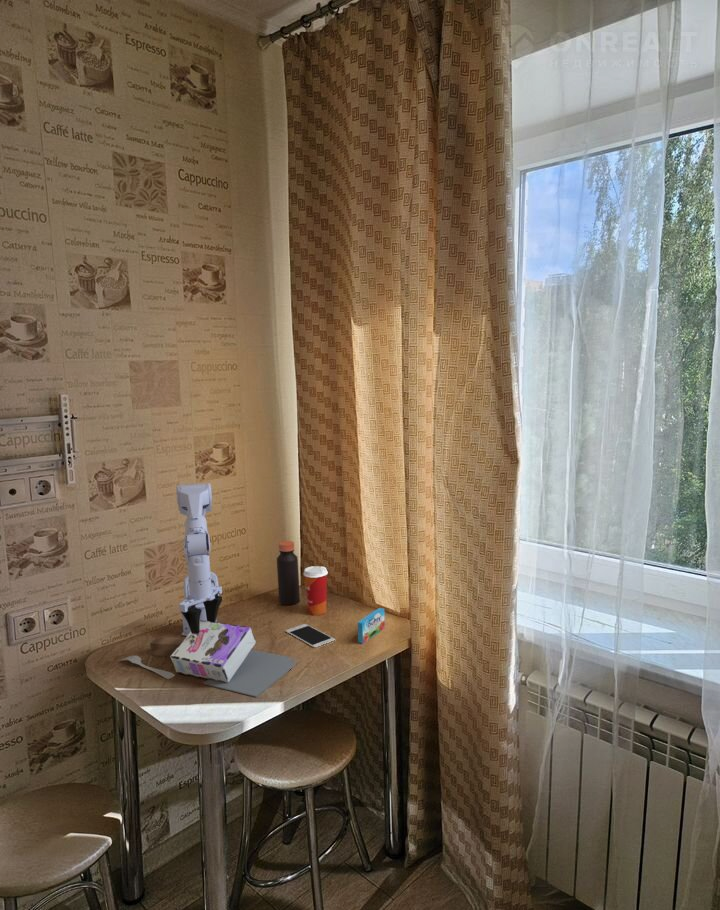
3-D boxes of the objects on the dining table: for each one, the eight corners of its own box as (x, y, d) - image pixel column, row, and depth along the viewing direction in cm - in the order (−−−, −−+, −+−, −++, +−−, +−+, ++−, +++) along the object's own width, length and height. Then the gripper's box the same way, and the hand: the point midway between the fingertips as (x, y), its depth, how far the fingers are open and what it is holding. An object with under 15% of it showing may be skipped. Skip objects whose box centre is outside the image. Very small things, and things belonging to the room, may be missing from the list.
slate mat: (203, 684, 157) (203, 683, 157) (252, 650, 175) (252, 649, 175) (256, 697, 150) (256, 696, 150) (301, 660, 168) (301, 659, 168)
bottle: (285, 597, 214) (282, 539, 211) (303, 599, 211) (300, 540, 208) (275, 604, 208) (271, 545, 205) (293, 607, 205) (290, 546, 202)
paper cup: (308, 607, 204) (306, 565, 202) (331, 607, 203) (329, 565, 201) (302, 617, 197) (300, 573, 195) (327, 617, 196) (325, 573, 194)
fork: (168, 689, 161) (168, 679, 160) (115, 662, 172) (115, 653, 171) (177, 684, 163) (177, 674, 163) (124, 658, 174) (124, 649, 173)
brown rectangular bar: (151, 655, 175) (149, 643, 174) (158, 648, 178) (157, 636, 178) (205, 658, 171) (204, 646, 171) (211, 651, 175) (210, 639, 175)
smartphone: (305, 626, 191) (305, 623, 191) (336, 642, 179) (335, 639, 179) (285, 633, 187) (284, 630, 186) (315, 650, 175) (314, 647, 174)
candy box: (222, 666, 154) (168, 657, 161) (229, 683, 157) (175, 673, 163) (250, 626, 165) (198, 618, 172) (256, 642, 168) (205, 635, 174)
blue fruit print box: (380, 627, 187) (380, 607, 186) (385, 628, 186) (384, 608, 185) (358, 643, 177) (357, 622, 176) (362, 644, 176) (362, 623, 175)
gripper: (192, 590, 158) (196, 641, 160) (229, 571, 171) (232, 620, 173) (170, 586, 161) (175, 637, 163) (208, 568, 174) (212, 616, 176)
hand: (203, 628), depth 168 cm, fingers open, 6 cm apart
